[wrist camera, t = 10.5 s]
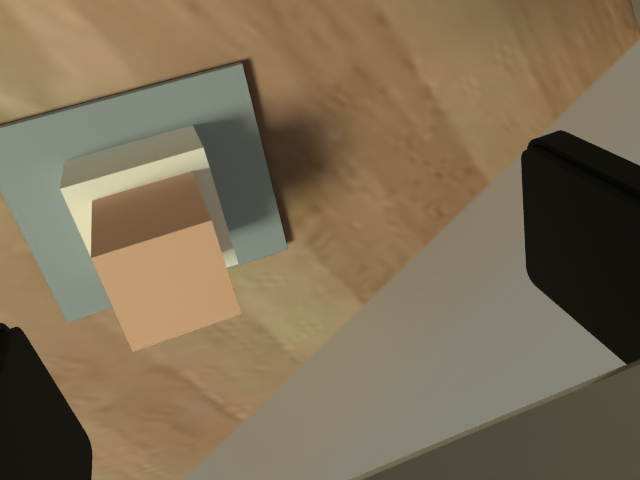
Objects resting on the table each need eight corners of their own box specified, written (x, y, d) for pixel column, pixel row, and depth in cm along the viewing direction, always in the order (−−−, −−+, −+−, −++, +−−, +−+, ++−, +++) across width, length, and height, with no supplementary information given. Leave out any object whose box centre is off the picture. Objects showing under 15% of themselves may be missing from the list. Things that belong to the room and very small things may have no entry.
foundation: (240, 61, 33) (259, 79, 29) (285, 245, 39) (306, 280, 35) (-26, 131, 30) (-44, 161, 26) (67, 316, 36) (64, 363, 32)
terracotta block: (192, 171, 30) (211, 220, 25) (218, 254, 32) (240, 313, 27) (91, 200, 29) (90, 257, 24) (127, 283, 32) (132, 351, 26)
